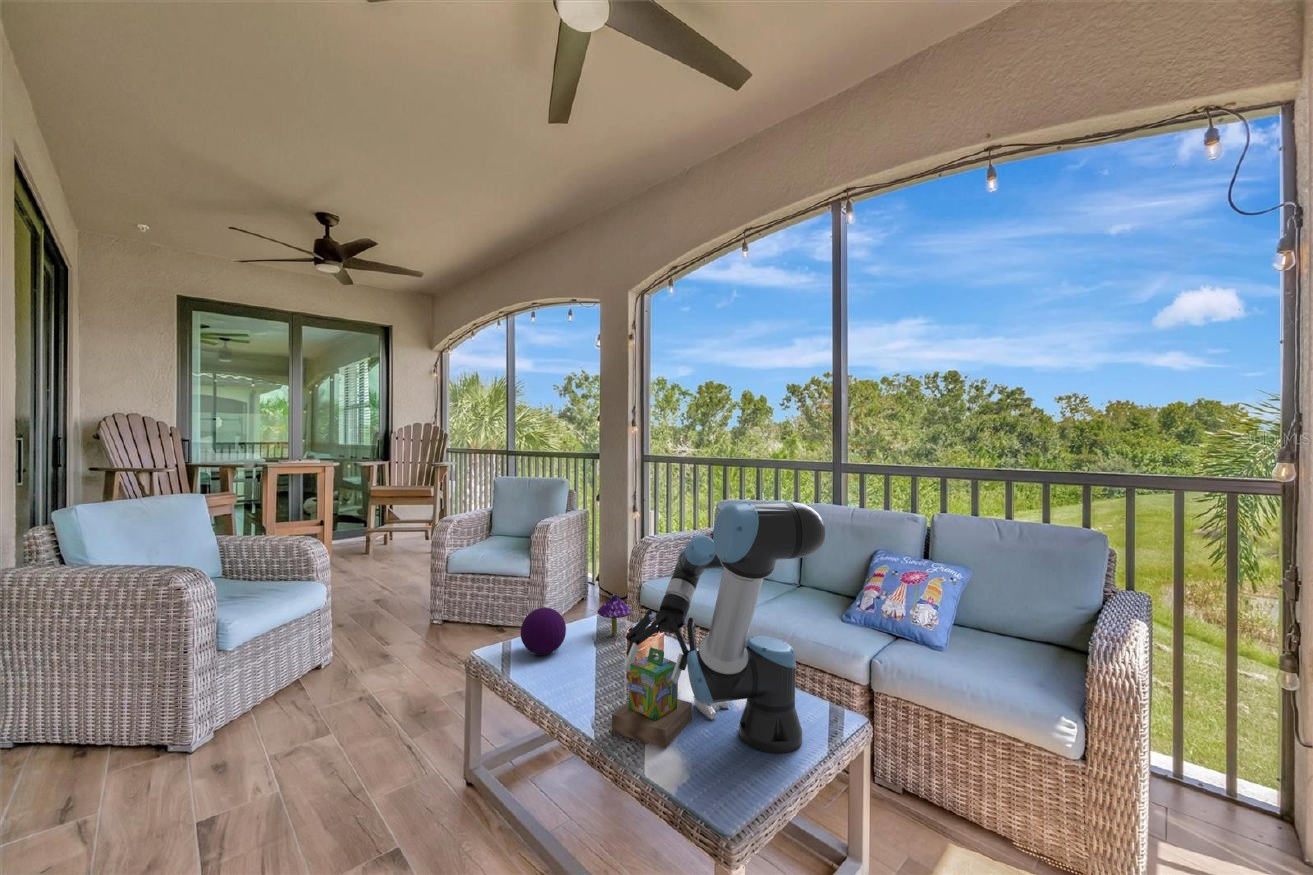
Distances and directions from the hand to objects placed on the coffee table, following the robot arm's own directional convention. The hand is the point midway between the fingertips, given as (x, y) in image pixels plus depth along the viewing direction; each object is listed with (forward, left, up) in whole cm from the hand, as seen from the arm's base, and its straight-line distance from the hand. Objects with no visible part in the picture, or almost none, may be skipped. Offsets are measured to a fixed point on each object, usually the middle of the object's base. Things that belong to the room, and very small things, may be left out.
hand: (649, 675), depth 136 cm
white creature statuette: (-6, -18, -14) cm, 23 cm away
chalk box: (0, -2, -9) cm, 10 cm away
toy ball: (+57, -13, -14) cm, 60 cm away
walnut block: (0, -2, -14) cm, 14 cm away
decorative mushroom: (+50, -40, -14) cm, 66 cm away
